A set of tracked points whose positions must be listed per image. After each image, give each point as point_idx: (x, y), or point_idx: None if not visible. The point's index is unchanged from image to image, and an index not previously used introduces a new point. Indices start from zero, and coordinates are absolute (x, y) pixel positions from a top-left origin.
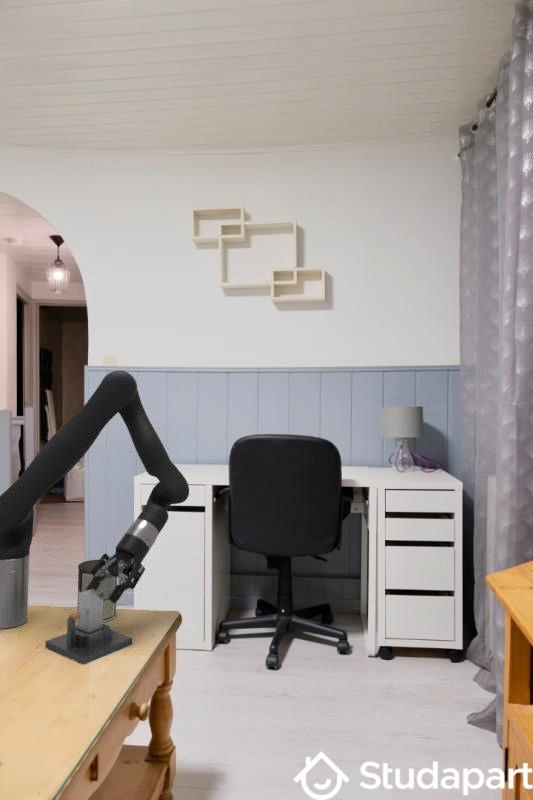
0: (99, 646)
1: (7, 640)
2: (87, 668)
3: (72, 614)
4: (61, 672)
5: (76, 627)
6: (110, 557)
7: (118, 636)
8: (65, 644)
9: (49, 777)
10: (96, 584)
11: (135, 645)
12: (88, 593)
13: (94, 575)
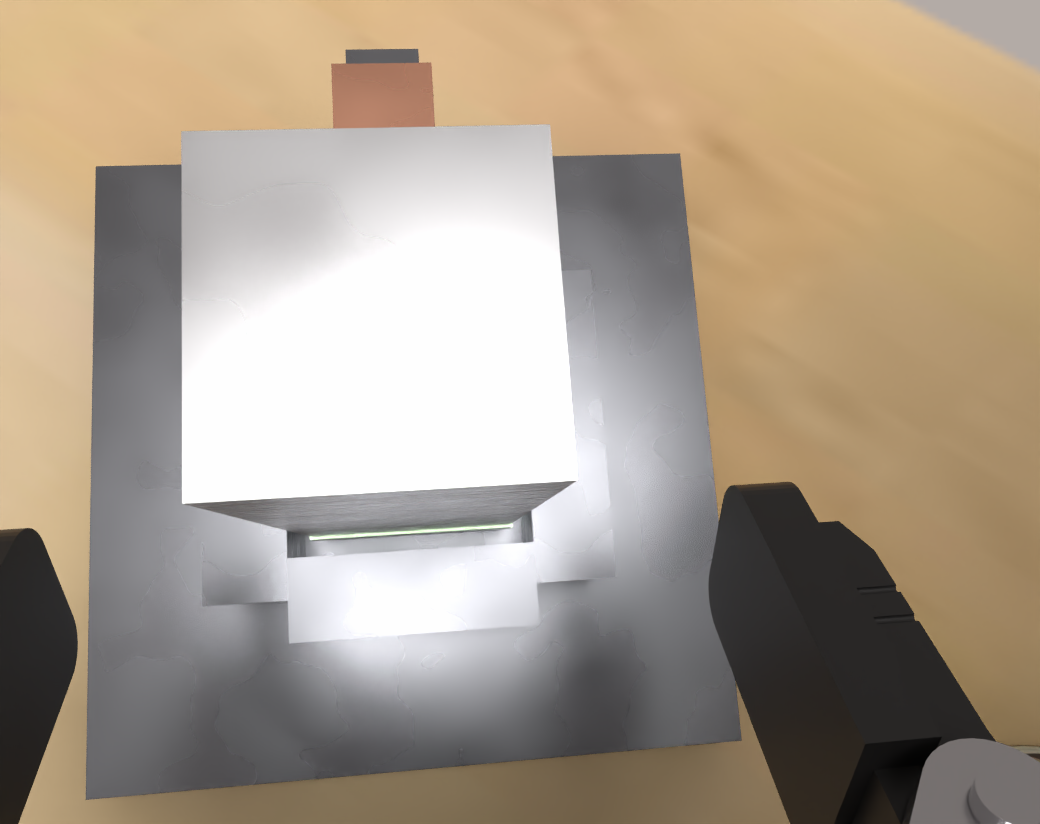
0: None
1: (1014, 66)
2: (24, 176)
3: (428, 111)
4: (135, 9)
5: None
6: None
7: (243, 709)
8: None
9: None
10: (795, 731)
11: (64, 789)
12: (367, 233)
13: (1016, 778)
